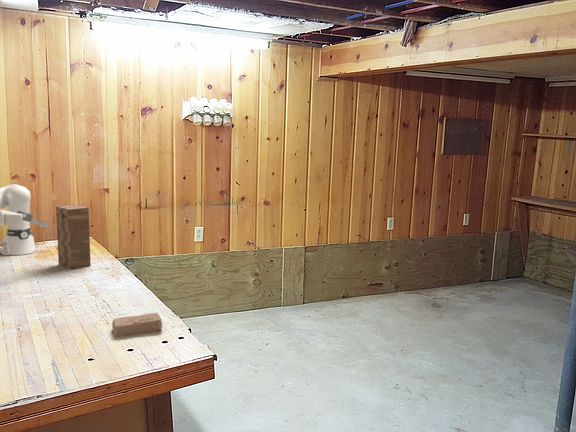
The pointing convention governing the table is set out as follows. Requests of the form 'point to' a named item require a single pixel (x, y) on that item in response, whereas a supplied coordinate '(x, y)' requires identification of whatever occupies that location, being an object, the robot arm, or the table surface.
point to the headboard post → (73, 236)
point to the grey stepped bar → (29, 219)
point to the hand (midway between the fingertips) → (23, 214)
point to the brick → (136, 324)
